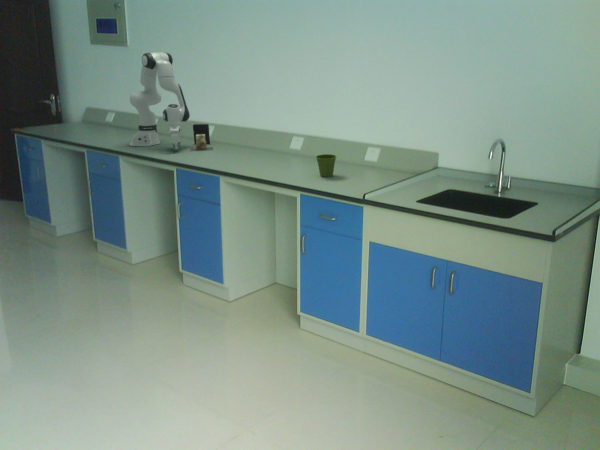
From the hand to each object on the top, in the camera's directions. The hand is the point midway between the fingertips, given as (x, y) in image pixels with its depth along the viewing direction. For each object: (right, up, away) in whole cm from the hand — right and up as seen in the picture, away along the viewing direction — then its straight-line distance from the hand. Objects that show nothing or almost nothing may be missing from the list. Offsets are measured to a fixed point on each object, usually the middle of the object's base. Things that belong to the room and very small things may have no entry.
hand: (176, 148), depth 421 cm
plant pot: (+101, -26, -80) cm, 132 cm away
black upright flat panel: (+14, +5, +22) cm, 26 cm away
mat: (+17, -1, +3) cm, 17 cm away
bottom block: (+17, 0, +2) cm, 17 cm away
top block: (+17, +4, +1) cm, 17 cm away
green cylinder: (0, -2, +1) cm, 2 cm away
